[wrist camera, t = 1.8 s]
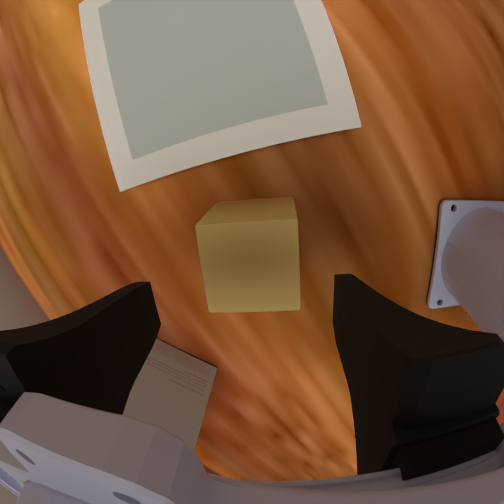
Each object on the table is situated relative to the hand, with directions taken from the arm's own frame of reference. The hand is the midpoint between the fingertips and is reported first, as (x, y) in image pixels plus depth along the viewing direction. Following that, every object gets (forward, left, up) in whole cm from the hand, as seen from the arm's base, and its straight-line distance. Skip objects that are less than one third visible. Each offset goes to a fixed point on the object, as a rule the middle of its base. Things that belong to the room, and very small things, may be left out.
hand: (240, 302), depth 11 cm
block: (0, 0, -8) cm, 8 cm away
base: (+2, -12, -8) cm, 15 cm away
